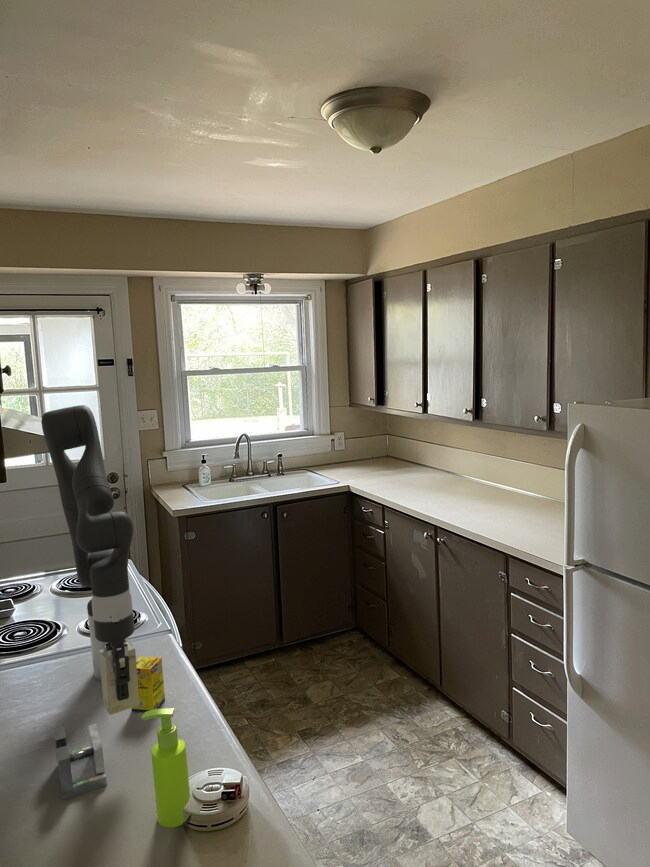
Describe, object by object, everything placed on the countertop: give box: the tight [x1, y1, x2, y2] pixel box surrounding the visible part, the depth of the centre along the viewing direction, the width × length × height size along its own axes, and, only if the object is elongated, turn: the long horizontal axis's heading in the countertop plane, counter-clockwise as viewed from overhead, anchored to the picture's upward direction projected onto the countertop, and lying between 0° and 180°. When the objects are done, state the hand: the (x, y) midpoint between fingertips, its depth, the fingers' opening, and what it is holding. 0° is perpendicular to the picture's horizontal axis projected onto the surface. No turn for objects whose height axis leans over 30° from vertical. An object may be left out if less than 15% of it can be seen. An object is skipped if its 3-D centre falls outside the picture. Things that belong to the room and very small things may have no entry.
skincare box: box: [99, 641, 140, 716], centre depth 129 cm, size 6×4×12 cm
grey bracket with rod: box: [53, 726, 108, 800], centre depth 127 cm, size 12×8×8 cm, turn 27°
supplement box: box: [130, 656, 166, 713], centre depth 151 cm, size 6×6×11 cm
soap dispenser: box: [141, 707, 191, 829], centre depth 113 cm, size 6×7×20 cm
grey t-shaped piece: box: [69, 723, 106, 776], centre depth 127 cm, size 10×8×6 cm
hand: (120, 692), depth 129 cm, fingers closed on skincare box, 4 cm apart
